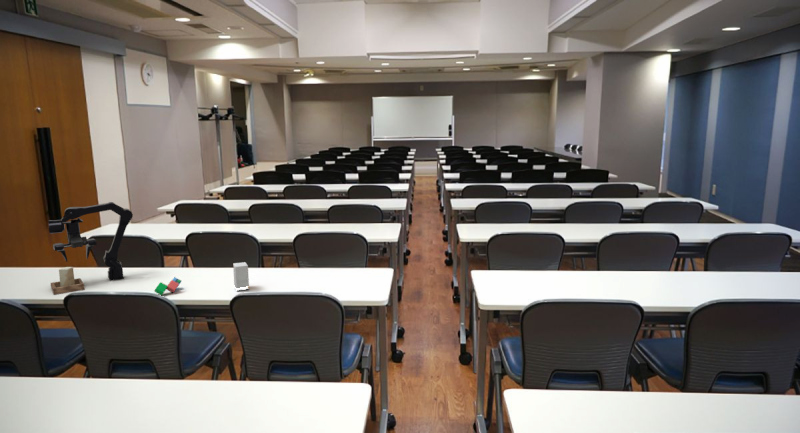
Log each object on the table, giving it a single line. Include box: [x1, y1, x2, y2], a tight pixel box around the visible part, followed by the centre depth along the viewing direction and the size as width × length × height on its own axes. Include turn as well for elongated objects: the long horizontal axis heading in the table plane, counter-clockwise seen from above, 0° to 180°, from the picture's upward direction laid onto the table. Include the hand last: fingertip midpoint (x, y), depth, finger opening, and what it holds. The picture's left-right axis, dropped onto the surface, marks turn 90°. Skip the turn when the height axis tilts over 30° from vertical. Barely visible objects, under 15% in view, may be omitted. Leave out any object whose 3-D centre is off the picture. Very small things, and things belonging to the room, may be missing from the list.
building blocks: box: [154, 276, 182, 296], centre depth 249 cm, size 8×8×12 cm
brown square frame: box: [50, 278, 85, 296], centre depth 254 cm, size 13×13×3 cm
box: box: [58, 266, 75, 287], centre depth 253 cm, size 5×4×11 cm
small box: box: [232, 261, 250, 288], centre depth 254 cm, size 8×6×13 cm
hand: (77, 260), depth 261 cm, fingers open, 9 cm apart
